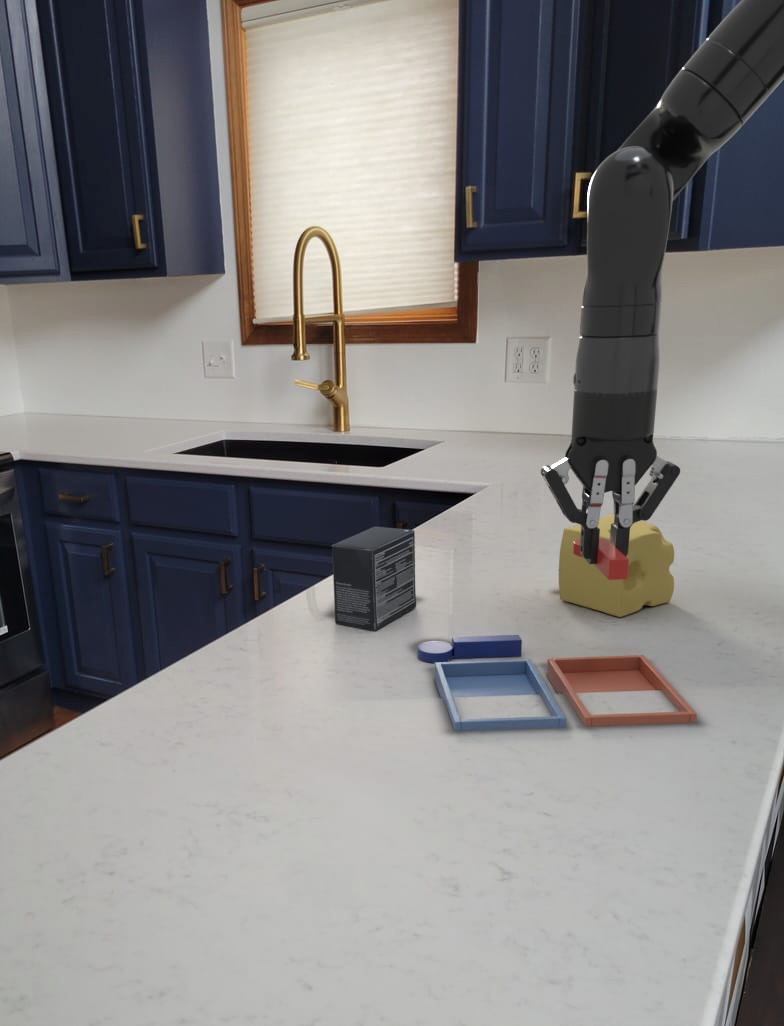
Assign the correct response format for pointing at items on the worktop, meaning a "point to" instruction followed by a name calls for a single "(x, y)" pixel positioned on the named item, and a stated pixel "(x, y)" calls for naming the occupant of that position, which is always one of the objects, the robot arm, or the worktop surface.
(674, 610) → the worktop surface
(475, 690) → the blue tray
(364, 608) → the small box
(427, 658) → the blue spoon
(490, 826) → the worktop surface
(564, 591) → the cheese
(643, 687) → the red tray
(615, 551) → the red spoon
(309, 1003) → the worktop surface
